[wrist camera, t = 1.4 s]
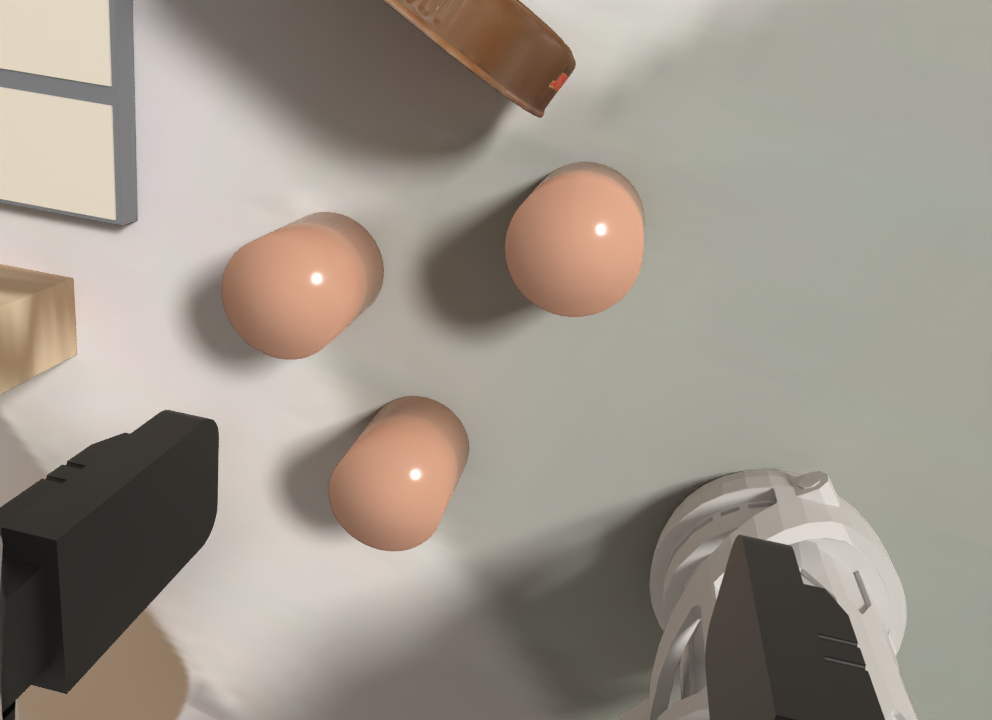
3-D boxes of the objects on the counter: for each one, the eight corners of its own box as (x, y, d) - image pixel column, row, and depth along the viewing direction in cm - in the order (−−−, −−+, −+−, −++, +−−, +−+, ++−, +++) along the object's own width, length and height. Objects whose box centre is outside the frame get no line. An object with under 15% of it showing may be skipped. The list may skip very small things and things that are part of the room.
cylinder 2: (373, 386, 39) (332, 436, 34) (475, 407, 39) (448, 460, 34) (365, 477, 41) (325, 537, 36) (462, 498, 41) (435, 562, 36)
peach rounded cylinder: (535, 152, 34) (515, 169, 29) (655, 172, 34) (656, 193, 29) (518, 268, 36) (496, 303, 31) (631, 288, 35) (628, 328, 30)
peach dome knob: (281, 203, 37) (222, 227, 32) (388, 222, 36) (345, 249, 31) (277, 308, 39) (220, 346, 34) (379, 328, 38) (337, 370, 33)
